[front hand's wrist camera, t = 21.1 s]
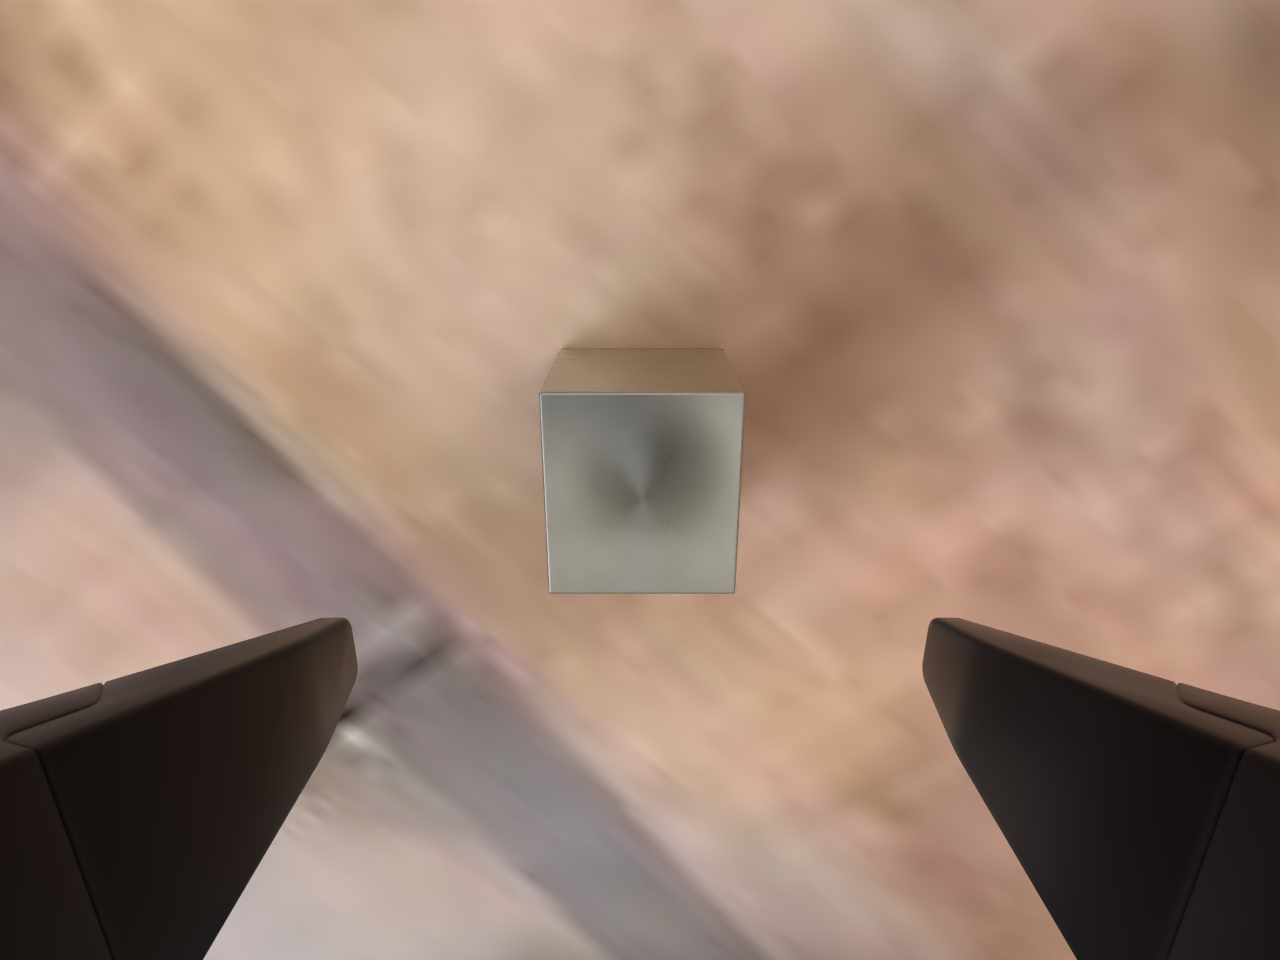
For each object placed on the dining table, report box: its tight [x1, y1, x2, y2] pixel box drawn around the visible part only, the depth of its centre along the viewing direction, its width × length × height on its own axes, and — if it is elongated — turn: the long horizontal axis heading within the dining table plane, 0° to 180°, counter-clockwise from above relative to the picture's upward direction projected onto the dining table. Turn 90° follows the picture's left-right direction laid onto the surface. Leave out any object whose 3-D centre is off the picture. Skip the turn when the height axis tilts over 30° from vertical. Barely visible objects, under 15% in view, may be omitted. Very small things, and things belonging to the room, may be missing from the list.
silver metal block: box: [539, 349, 746, 593], centre depth 19 cm, size 5×4×5 cm
